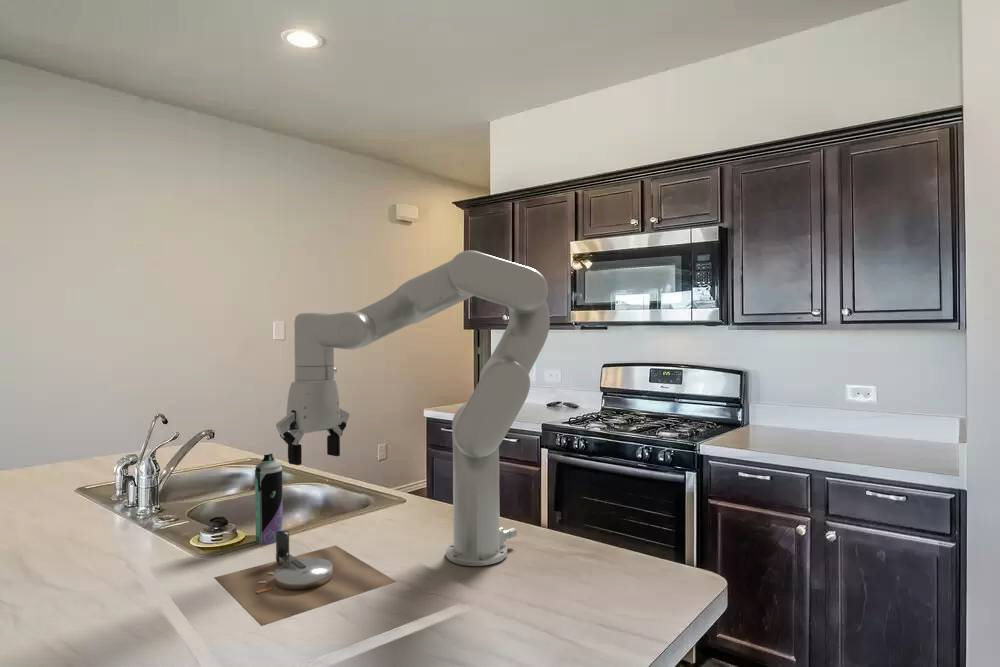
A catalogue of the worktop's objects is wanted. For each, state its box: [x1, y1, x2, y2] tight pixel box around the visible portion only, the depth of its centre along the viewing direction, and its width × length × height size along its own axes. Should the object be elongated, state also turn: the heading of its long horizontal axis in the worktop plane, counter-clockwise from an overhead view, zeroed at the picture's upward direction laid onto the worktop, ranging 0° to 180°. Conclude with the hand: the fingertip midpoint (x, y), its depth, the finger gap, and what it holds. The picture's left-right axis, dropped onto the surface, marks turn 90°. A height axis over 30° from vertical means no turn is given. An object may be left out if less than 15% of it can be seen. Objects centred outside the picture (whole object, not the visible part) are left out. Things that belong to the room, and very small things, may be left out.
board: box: [214, 545, 397, 627], centre depth 111 cm, size 24×24×2 cm
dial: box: [275, 530, 333, 590], centre depth 113 cm, size 16×10×6 cm, turn 41°
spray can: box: [254, 453, 284, 545], centre depth 132 cm, size 6×6×20 cm
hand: (314, 459), depth 123 cm, fingers open, 9 cm apart
